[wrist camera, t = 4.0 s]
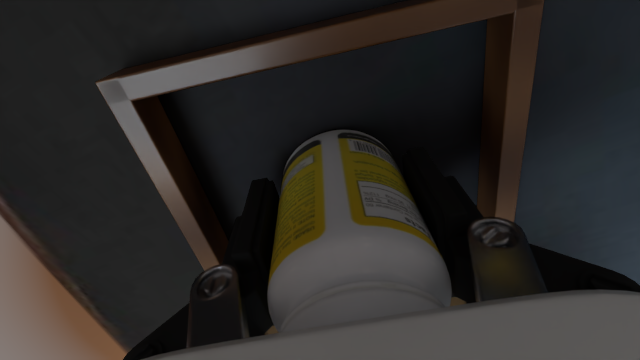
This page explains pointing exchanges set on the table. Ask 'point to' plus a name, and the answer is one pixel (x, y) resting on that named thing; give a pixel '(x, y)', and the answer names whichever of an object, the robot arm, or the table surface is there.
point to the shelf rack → (316, 42)
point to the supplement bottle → (350, 238)
